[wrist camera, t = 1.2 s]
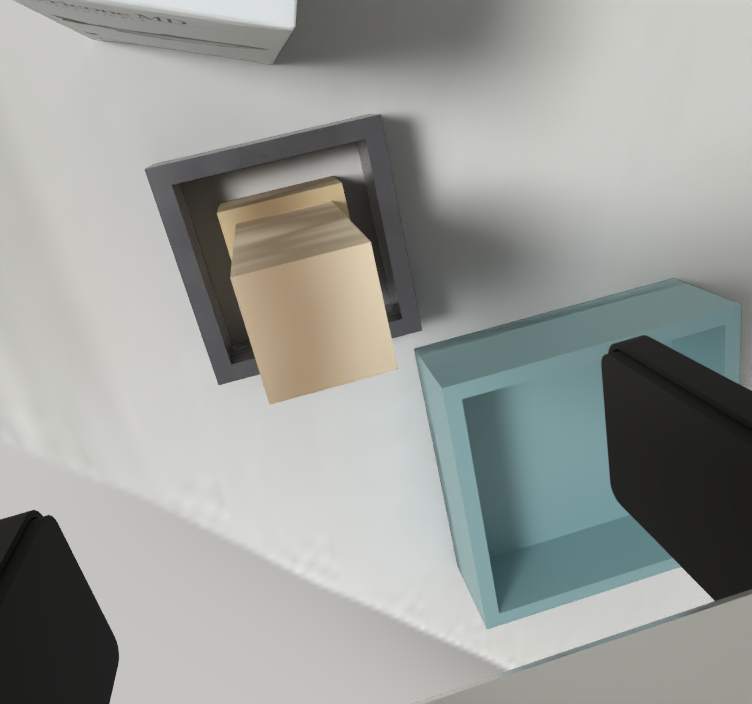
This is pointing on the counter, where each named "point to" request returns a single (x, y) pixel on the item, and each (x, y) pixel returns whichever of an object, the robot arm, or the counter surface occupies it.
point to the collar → (169, 174)
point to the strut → (306, 289)
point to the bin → (552, 444)
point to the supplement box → (181, 24)
